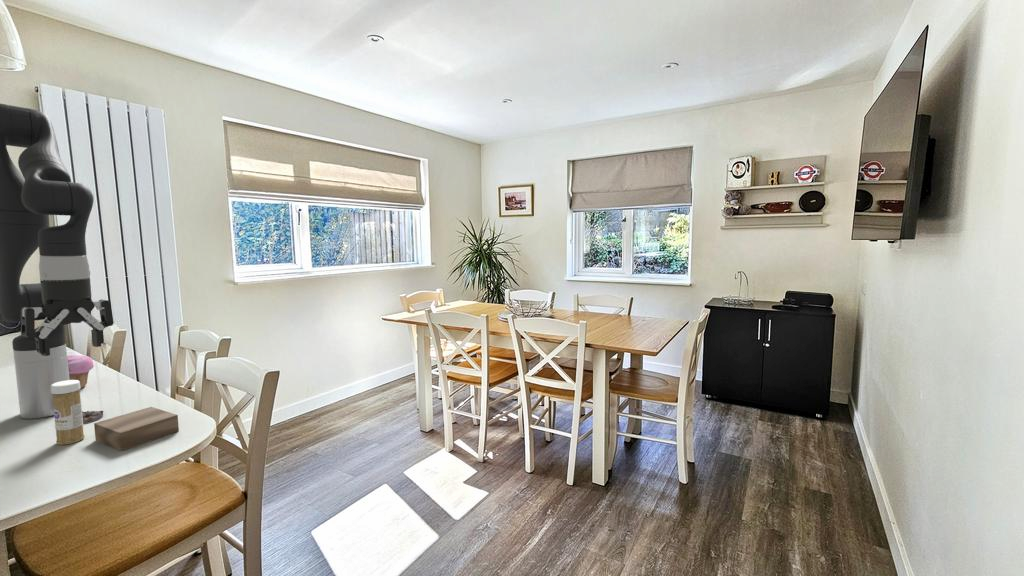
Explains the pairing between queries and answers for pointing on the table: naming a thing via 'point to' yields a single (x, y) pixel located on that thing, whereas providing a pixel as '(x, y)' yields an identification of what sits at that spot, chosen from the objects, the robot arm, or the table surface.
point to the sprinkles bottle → (67, 411)
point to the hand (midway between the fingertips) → (72, 350)
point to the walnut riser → (136, 428)
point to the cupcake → (79, 368)
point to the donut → (91, 416)
